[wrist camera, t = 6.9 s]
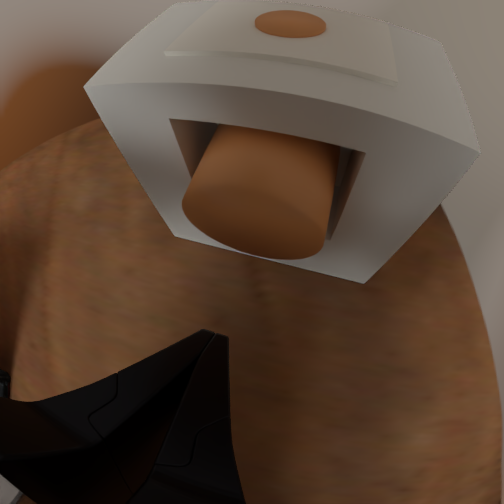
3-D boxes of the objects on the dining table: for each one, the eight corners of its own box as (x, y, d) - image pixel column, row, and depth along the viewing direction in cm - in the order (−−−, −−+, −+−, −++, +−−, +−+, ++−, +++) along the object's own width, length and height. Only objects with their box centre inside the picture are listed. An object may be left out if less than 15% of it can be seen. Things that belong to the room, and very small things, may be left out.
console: (364, 283, 17) (486, 145, 5) (174, 236, 19) (79, 80, 7) (375, 188, 19) (441, 35, 8) (211, 152, 21) (174, -3, 10)
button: (313, 269, 12) (338, 208, 7) (198, 241, 13) (163, 172, 8) (329, 190, 13) (351, 111, 9) (227, 168, 14) (211, 88, 10)
